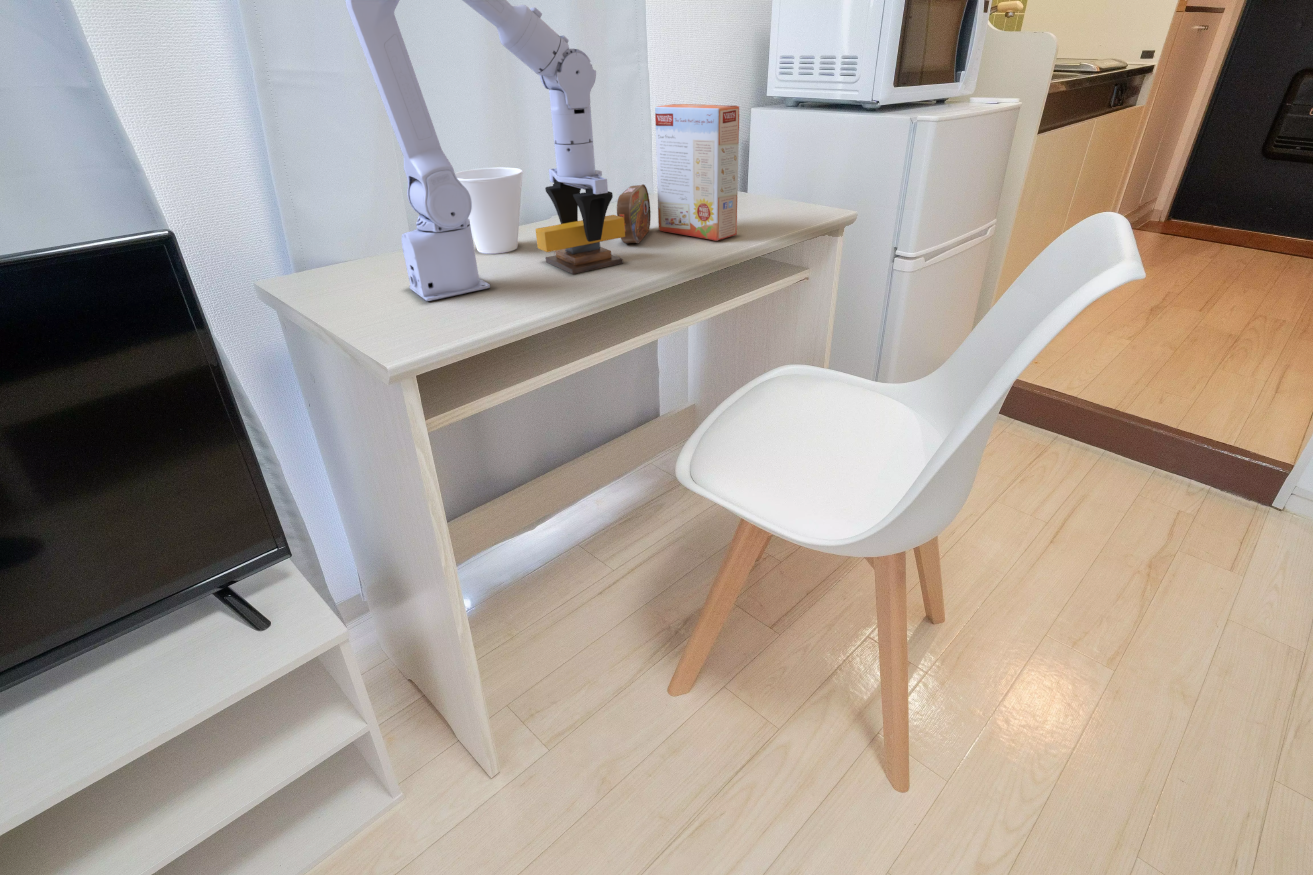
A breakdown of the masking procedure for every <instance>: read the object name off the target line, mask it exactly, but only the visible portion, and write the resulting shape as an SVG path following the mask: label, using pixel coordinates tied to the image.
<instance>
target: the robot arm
mask: <svg viewBox="0 0 1313 875" xmlns="http://www.w3.org/2000/svg"><path fill="white" fill-rule="evenodd" d="M461 1H462V2H463V3H465V4H466V5H467V6H469V7H470V8H471V9H472V10H474V11H475V12H476V13H478V15H480V16H481V17H483V18H484V19H485V20H486V21H488V22H489V23H490V24H491V25H493V26H494V27H495V28H496V30H497V34H498V38H499V42H500V44H501V45H502V47H504V48H505V49H507V51H509V52H510V53H511V54H512V55H514V57H516V58H517V59H518V60H519V61H521V62H522V63H523V64H524V65H525V66H527V67H528V69H530V70H531V71H533V72H534V74H536V75H537V76H539V79H540V82H541V84H542V86H543V87H544V88H545V89H546V90H548V95H549V103H550V104H549V105H550V117H551V125H552V126H551V127H552V134H553V146H554V154H555V155H554V156H555V164H556V166H555V167H554V168H549V169H548V175H549V182H550V183H552V185H550V186H546V187H544V188H545V189H544V190H545V193H546V194H547V196H548V197H549V199H550V200H551V202H552V204H553V207H554V209H555V211H556V213H557V216H558V220H559V222H560V223H559V224H565V223H570V222H576V221H579V217H578V216H579V215H578V214H579V213H578V210H579V212H580V216H581V220H583V224H584V230H585V235H586V238H587V241H589V242H592V241H597V240H601V236H602V230H603V224H604V219H605V216H607V215H606V214H607V211H608V208H609V206H610V204H611V202H612V200H613V195H614V194H613V192H612V191H609V188H608V178H606V177H603V171H602V170H598V169H596V162H595V161H596V160H595V149H594V135H593V134H594V133H593V122H592V121H593V120H592V110H591V109H592V108H591V107H592V106H591V92H592V89H593V87H594V86H595V83H596V78H597V71H596V69H594V68H593V64H592V63H591V62H592V61H591V60H590V58H589V56H588V54H586V52H584V51H583V50H581V49H579V48H570V46H569V41H570V40H569V38H567V36H565V35H564V34H563V35H561V34H560V35H559V34H558V33H557V32H556V31H555V30H554V29H553V28H551V27H550V25H549V24H547V23H546V22H545V21H544V20H543V19H542V18H541V17H542V16H543V13H542V12H541V11H540V10H539V9H538V8H537V7H536V6H535V7H530V8H529V7H528V6H527V5H526V4H517V5H513V4H511V3H510V2H509V1H508V0H461ZM344 2H345V7H346V10H347V13H348V15H349V18H350V20H351V24H352V27H353V28H354V32H355V34H356V36H357V39H358V41H359V44H360V47H361V49H362V53H363V54H364V57H365V59H366V60H365V61H366V62H367V65H368V68H369V70H370V73H371V76H372V78H373V81H374V84H375V86H376V89H377V91H378V94H379V96H380V99H381V102H382V104H383V106H384V110H385V112H386V114H387V117H388V120H389V123H390V124H391V128H392V130H393V133H394V136H395V138H396V141H397V143H398V146H399V148H400V151H401V154H402V156H403V170H404V173H405V176H406V180H407V190H406V191H407V192H406V194H407V196H406V197H407V200H408V202H409V205H410V207H411V208H412V209H413V211H415V212H416V213H417V214H418V217H417V220H416V222H415V225H416V228H415V229H414V230H411V231H407V232H404V233H402V234H401V248H402V253H403V257H404V262H405V267H406V271H407V277H408V281H409V285H408V286H409V289H410V290H411V291H413V292H414V294H416V295H417V296H419V297H421V298H422V300H425V301H426V302H431V301H435V300H440V299H445V298H450V297H454V296H459V295H463V294H467V293H468V294H469V293H472V292H477V291H483V290H486V289H490V288H491V284H490V283H489V282H487V281H486V280H485V281H484V280H483V279H481V278H480V275H479V270H478V264H477V257H476V256H477V255H476V253H475V252H476V251H475V250H476V249H475V243H474V239H473V236H472V232H471V226H470V220H469V219H468V217H469V215H470V213H471V209H472V201H471V197H470V194H469V192H468V190H467V189H466V188H465V187H464V186H463V185H462V184H461V183H460V181H459V180H458V179H457V177H456V175H455V173H456V172H455V170H454V166H453V165H452V163H451V162H450V160H449V159H448V157H447V155H446V154H445V152H444V151H443V149H442V146H441V143H440V141H439V137H438V135H437V132H436V128H435V126H434V123H433V120H432V118H431V115H430V112H429V109H428V106H427V104H426V101H425V97H424V95H423V92H422V89H421V85H420V83H419V81H418V78H417V75H416V72H415V70H414V67H413V64H412V61H411V58H410V55H409V52H408V50H407V47H406V44H405V41H404V38H403V34H402V32H401V29H400V26H399V22H398V21H397V18H396V16H395V15H396V14H395V11H396V9H397V6H398V4H399V3H400V0H344ZM582 190H585V192H581V191H582Z"/></svg>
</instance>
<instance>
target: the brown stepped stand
mask: <svg viewBox="0 0 1313 875" xmlns="http://www.w3.org/2000/svg"><path fill="white" fill-rule="evenodd" d="M554 252H555V255H554V254H553V255H550V256H546V257H545V262H546V263H547V264H550V265H551V266H555V268H559V269H560V270H563V271H565V272H567V273H569V274H571V275H576V274H580V273H585V272H589V271H594V270H598V269H603V268H608V267H612V266H613V267H614V266H617V265H622V264H624V260H623V258H622V257H619V256H617V255H614V254H612V250H611V249H608V248H605V247H603V246H601V242H597V243H592V244H586V245H581V246H576V247H571V248H566V249H561V250H556V251H554Z"/></svg>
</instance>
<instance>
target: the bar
mask: <svg viewBox="0 0 1313 875" xmlns="http://www.w3.org/2000/svg"><path fill="white" fill-rule="evenodd" d="M535 236H536V243H537V244H536V245H537V246H536V247H537V249H539V250H541V251H543V252H546V253H550V252H555V251H556V250H561V249H566V248H571V247H576V246H581V245H586V244H592V243H597V242H600V243H601V242H607V241H612V240H615V239H616V240H617V239H621V238H622V237H625V226H624V218H623V217H619V216H617V214H609V215H605V219H604V224H603V230H602V236H601V240H597V241H592V242H589V241H587V238H586V235H585V230H584V224H583V219H581V220H578V221H576V222H570V223H565V224H561V223H559V224H554V225H549V226H543V227H538V228H535Z"/></svg>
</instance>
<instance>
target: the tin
mask: <svg viewBox="0 0 1313 875" xmlns="http://www.w3.org/2000/svg"><path fill="white" fill-rule="evenodd" d="M616 201H617V202H616V216H619V217H623V218H624V226H625V237H622V238H620V240H621V241H622V242H623V243H624V244H640V243H641V241H642V240H643V239H644V238H645V236H646V235H647V234H648V233H649V232H650V228H651V219H652V218H651V201H650V196H649V190H648V188H647V186H646V185H645V184H639V185H638V184H637V185H636V184H635V185H631V186H629V187H628V188H626V190H624V191H623V192H622V193H621V194H620V195H619V196H618V199H617V200H616Z"/></svg>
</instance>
